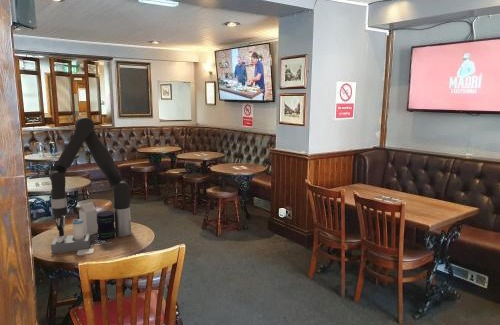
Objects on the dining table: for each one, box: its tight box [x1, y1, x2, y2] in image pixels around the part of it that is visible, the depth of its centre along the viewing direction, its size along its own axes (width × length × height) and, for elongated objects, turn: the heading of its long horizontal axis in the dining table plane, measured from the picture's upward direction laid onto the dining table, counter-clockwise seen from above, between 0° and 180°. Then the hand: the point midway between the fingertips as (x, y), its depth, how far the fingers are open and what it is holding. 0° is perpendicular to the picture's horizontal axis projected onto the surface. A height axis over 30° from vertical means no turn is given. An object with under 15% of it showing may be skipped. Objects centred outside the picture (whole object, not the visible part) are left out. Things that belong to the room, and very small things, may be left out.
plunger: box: [56, 235, 63, 244], centre depth 195 cm, size 3×3×6 cm
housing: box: [50, 233, 92, 254], centre depth 200 cm, size 18×12×5 cm, turn 109°
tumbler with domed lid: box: [71, 218, 84, 240], centre depth 201 cm, size 6×6×16 cm
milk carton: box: [78, 201, 98, 236], centre depth 221 cm, size 7×7×19 cm
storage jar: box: [96, 210, 116, 242], centre depth 214 cm, size 10×10×15 cm
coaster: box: [76, 248, 95, 256], centre depth 194 cm, size 8×6×1 cm
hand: (61, 235), depth 201 cm, fingers closed
